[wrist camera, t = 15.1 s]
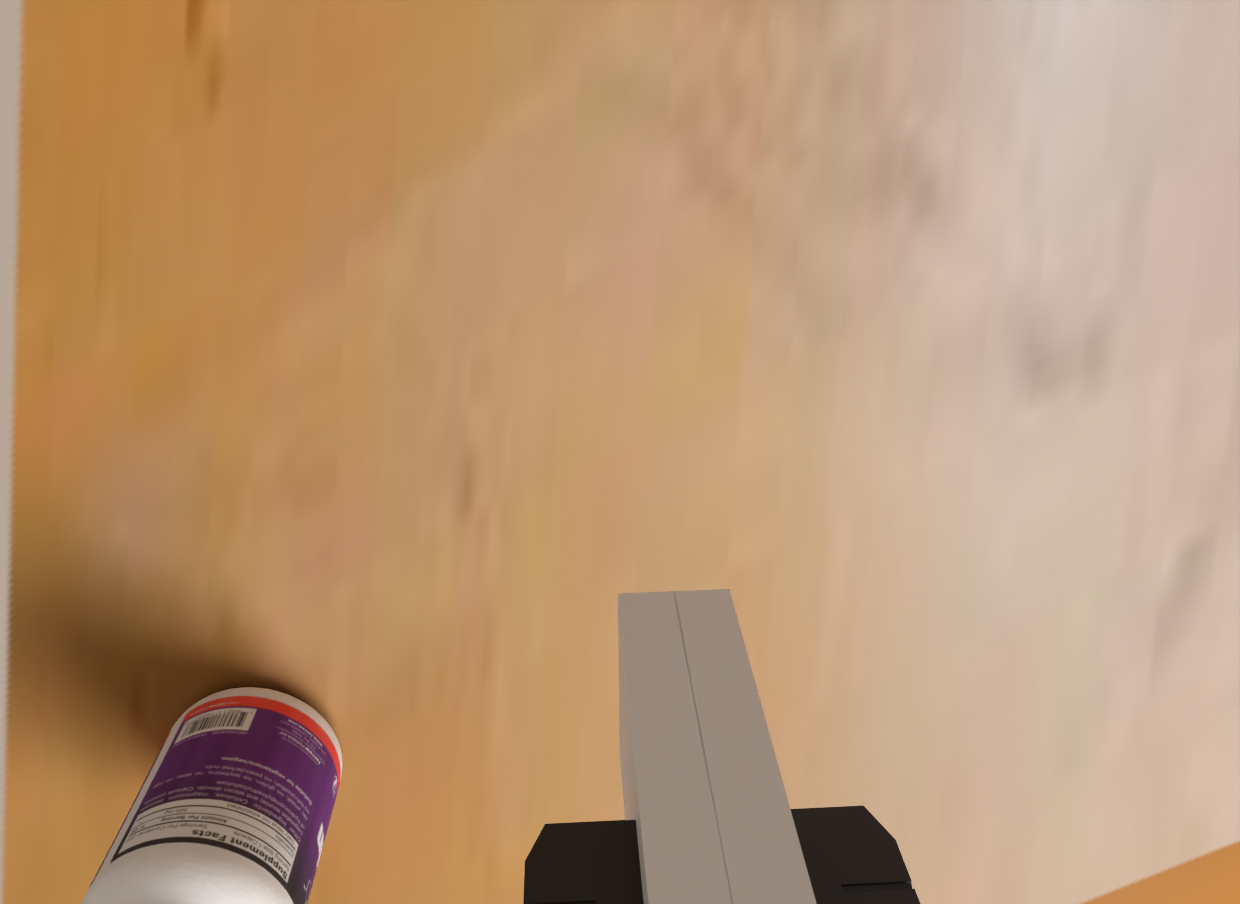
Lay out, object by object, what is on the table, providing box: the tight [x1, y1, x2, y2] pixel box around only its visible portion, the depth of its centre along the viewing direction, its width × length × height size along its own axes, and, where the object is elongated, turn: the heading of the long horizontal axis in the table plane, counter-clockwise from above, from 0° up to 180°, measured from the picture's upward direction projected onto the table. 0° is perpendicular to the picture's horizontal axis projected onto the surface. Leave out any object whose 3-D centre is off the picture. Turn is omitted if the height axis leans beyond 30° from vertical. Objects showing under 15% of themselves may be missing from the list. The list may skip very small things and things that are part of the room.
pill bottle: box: [82, 687, 342, 904], centre depth 43 cm, size 8×8×14 cm
